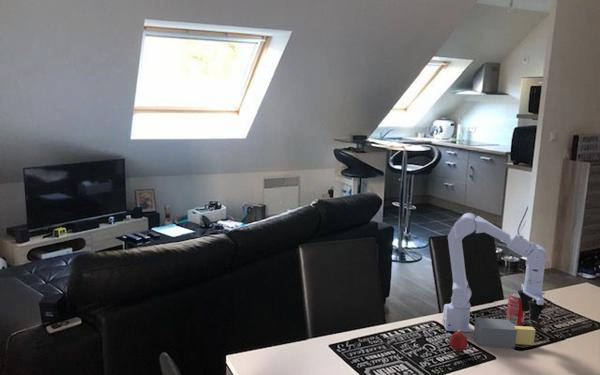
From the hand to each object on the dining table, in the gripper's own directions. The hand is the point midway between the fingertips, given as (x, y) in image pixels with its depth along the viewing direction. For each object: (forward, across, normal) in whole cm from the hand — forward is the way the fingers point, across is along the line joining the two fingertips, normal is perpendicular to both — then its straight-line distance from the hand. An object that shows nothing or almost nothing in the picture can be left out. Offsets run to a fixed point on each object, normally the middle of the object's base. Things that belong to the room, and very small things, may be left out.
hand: (529, 315), depth 171 cm
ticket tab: (+10, -1, +6) cm, 12 cm away
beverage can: (+10, +15, -1) cm, 18 cm away
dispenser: (+10, -1, +12) cm, 16 cm away
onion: (+11, -10, +27) cm, 31 cm away
